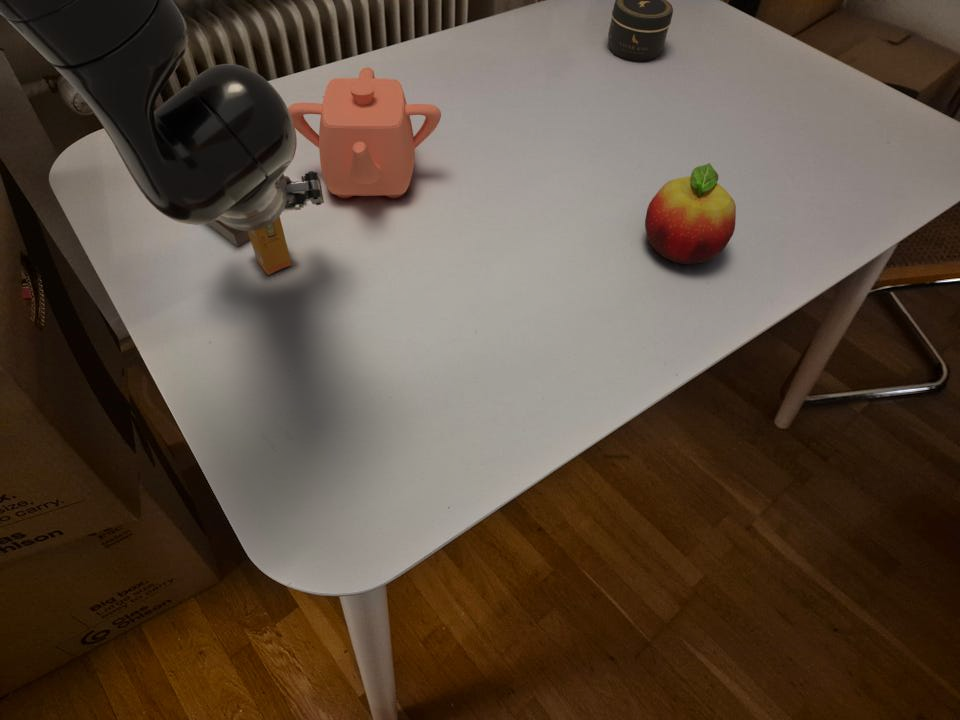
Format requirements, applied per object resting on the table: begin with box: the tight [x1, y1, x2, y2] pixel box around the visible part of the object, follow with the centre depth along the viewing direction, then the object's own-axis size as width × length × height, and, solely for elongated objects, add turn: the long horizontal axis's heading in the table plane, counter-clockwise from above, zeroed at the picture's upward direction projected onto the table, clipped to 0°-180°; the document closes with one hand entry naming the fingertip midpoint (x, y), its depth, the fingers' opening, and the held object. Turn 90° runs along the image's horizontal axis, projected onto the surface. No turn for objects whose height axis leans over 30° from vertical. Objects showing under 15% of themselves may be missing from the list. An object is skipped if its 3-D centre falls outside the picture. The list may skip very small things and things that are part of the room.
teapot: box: [287, 67, 442, 199], centre depth 85 cm, size 17×16×13 cm
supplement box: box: [248, 215, 293, 276], centre depth 76 cm, size 3×4×10 cm
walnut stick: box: [206, 220, 251, 248], centre depth 83 cm, size 2×14×2 cm, turn 50°
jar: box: [607, 0, 674, 62], centre depth 114 cm, size 10×10×8 cm
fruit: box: [644, 162, 737, 265], centre depth 82 cm, size 11×11×10 cm
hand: (256, 205), depth 74 cm, fingers open, 8 cm apart
